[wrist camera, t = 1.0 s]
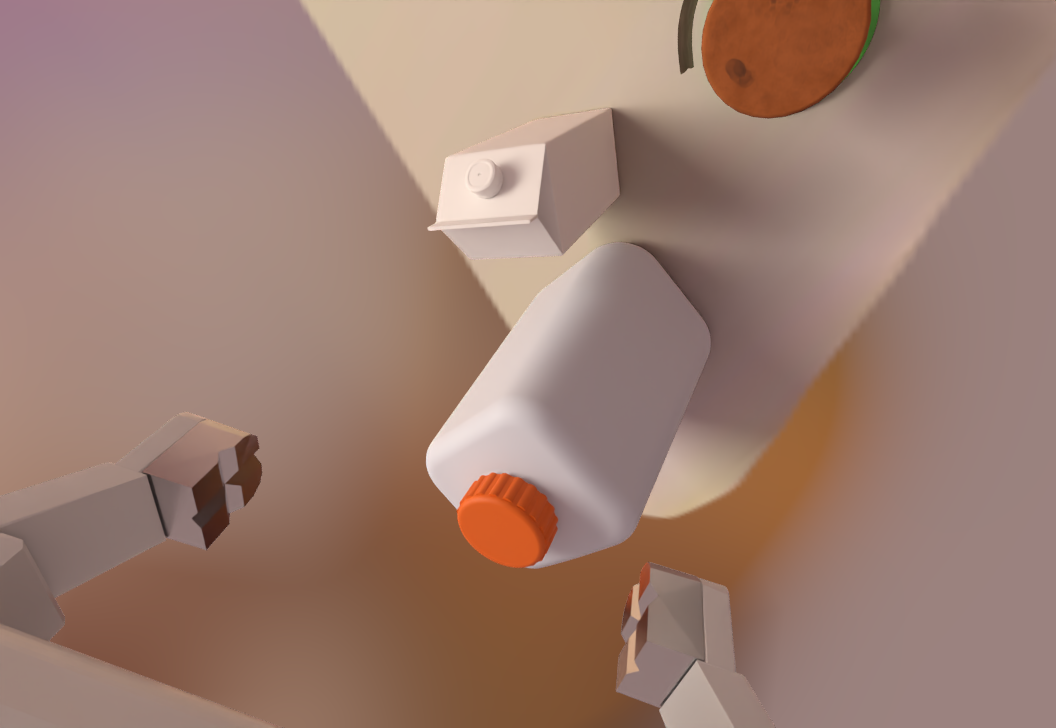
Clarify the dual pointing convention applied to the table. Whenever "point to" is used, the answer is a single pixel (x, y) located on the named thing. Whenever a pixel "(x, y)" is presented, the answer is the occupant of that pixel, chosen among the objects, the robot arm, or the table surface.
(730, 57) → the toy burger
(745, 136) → the table surface
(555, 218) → the milk carton
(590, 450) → the plastic bottle
